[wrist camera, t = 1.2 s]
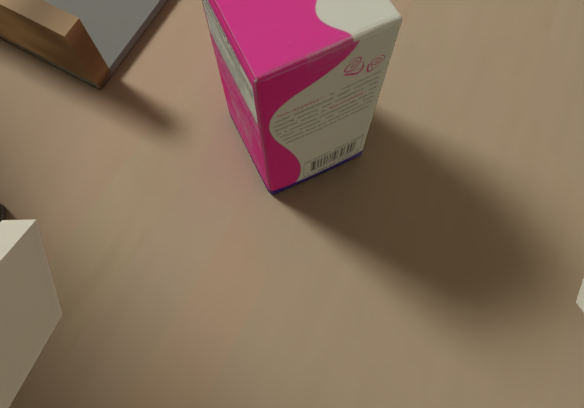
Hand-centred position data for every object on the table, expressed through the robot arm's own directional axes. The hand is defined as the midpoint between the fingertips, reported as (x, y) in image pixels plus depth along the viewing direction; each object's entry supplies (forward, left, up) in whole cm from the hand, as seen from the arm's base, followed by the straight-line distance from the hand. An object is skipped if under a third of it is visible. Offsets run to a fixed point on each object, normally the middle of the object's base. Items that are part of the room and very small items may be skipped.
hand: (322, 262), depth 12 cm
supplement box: (-5, +9, -14) cm, 17 cm away
